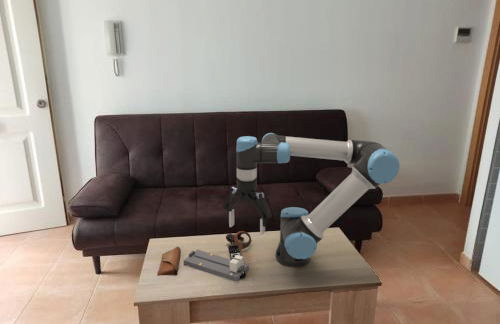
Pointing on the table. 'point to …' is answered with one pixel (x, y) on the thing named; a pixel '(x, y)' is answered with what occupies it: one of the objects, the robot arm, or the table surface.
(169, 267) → the sunglasses case
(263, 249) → the table surface
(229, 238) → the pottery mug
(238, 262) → the fader
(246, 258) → the table surface
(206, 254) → the grey slotted slider track
